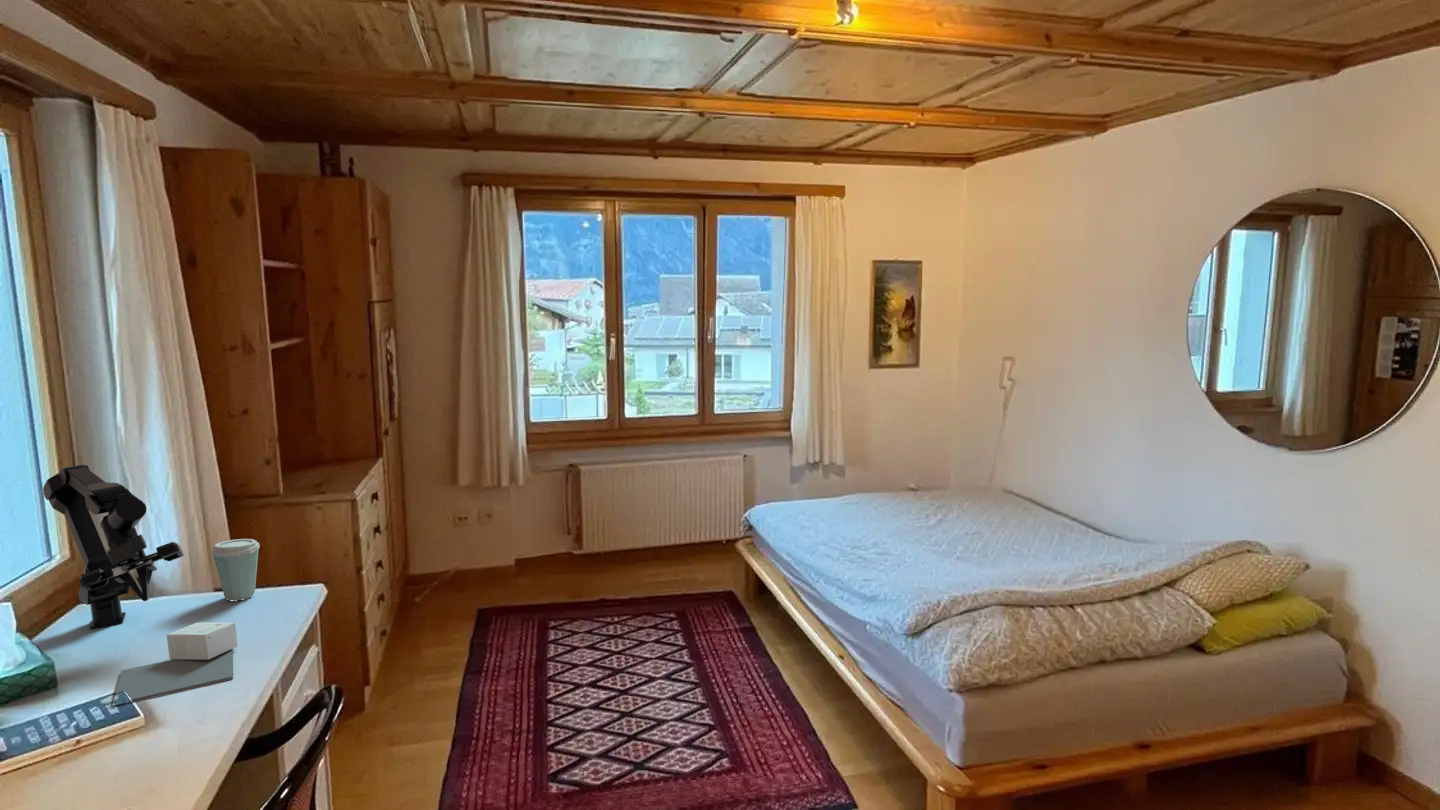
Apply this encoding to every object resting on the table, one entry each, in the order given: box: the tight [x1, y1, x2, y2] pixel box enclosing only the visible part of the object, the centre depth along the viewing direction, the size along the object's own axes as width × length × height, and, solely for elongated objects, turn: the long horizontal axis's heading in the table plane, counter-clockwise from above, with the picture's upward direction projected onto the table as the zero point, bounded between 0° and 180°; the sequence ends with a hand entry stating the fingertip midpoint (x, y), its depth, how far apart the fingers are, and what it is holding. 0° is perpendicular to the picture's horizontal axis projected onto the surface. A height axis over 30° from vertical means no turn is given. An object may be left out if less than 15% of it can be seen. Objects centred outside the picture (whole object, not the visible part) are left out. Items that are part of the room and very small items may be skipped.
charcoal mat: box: [115, 648, 234, 703], centre depth 168 cm, size 16×20×1 cm
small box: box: [166, 621, 238, 660], centre depth 177 cm, size 8×6×10 cm
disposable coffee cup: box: [211, 538, 261, 602], centre depth 209 cm, size 11×11×15 cm
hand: (145, 600), depth 181 cm, fingers closed
